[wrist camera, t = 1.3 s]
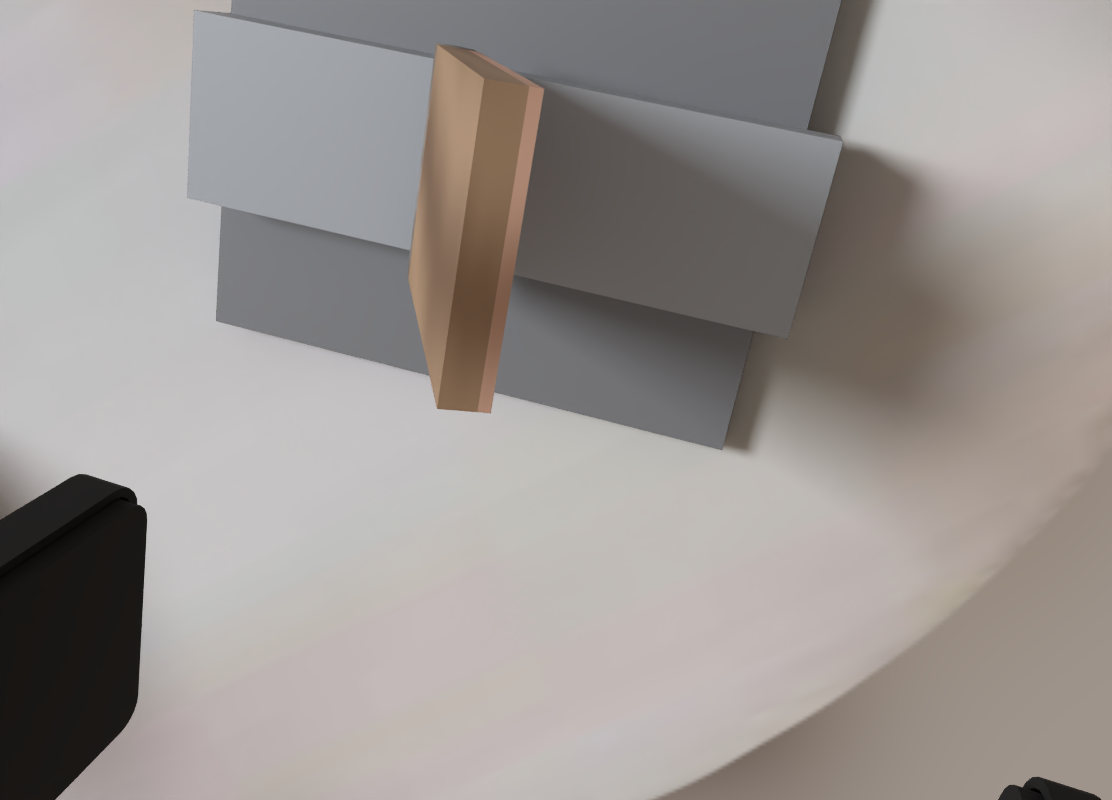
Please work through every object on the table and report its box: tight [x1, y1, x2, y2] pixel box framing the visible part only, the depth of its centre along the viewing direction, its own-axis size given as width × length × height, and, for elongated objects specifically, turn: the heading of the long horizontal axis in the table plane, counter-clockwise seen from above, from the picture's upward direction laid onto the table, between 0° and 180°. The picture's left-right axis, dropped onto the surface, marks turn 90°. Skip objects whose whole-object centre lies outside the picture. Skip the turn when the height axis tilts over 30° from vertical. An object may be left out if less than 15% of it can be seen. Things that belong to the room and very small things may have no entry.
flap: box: [407, 43, 544, 413], centre depth 25 cm, size 7×11×1 cm
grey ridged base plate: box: [187, 0, 843, 450], centre depth 32 cm, size 16×20×3 cm
